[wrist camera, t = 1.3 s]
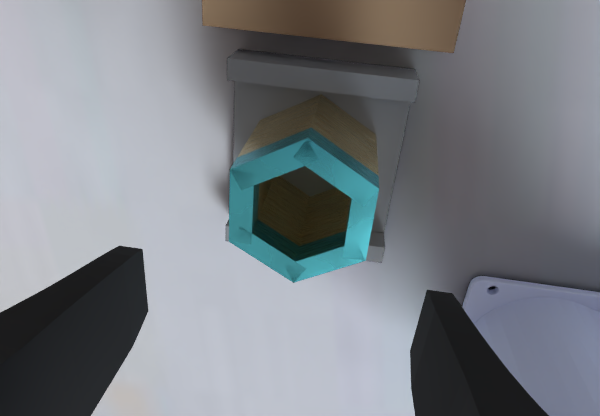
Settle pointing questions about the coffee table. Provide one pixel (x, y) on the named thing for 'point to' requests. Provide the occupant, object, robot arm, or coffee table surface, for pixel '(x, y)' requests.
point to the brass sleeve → (295, 203)
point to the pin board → (346, 20)
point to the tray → (341, 91)
